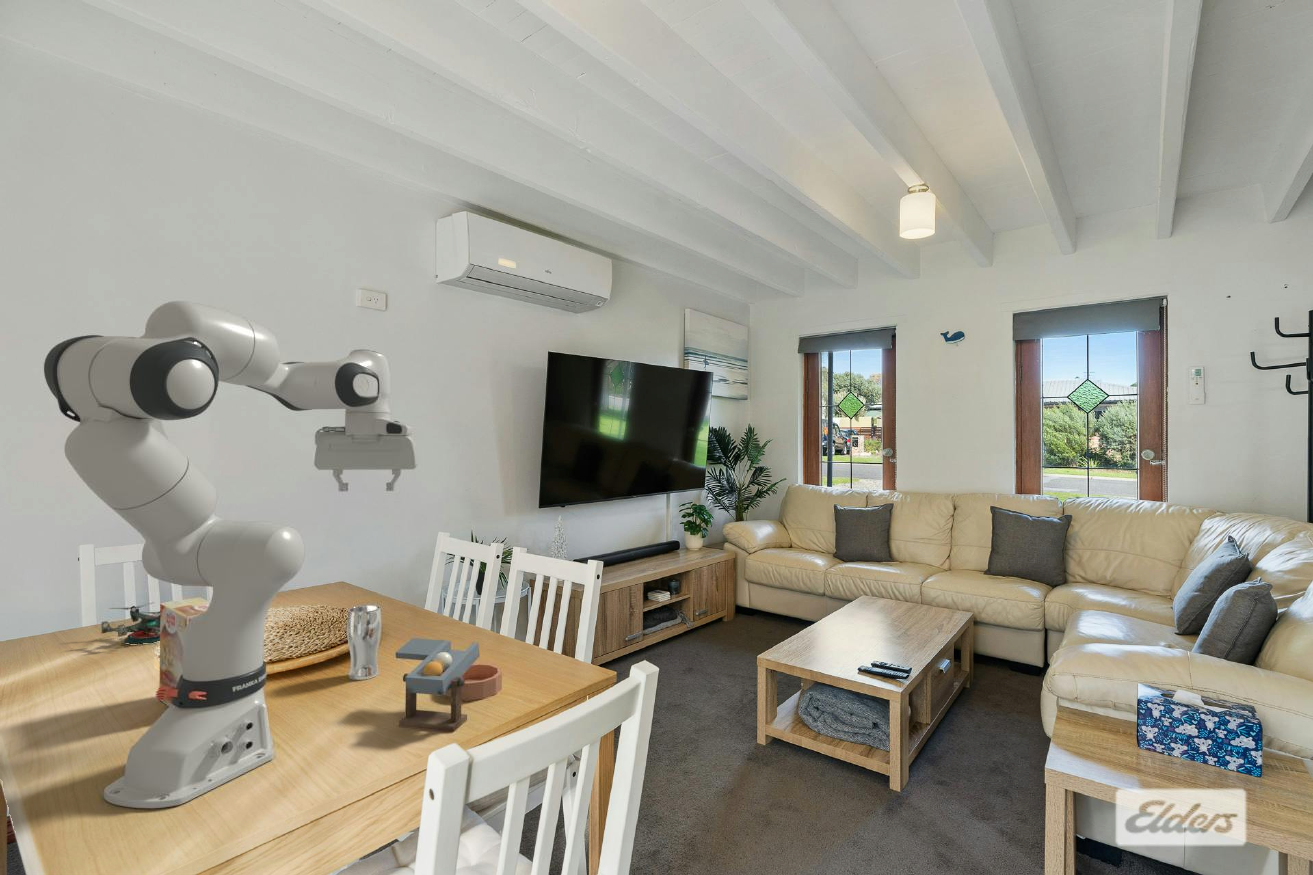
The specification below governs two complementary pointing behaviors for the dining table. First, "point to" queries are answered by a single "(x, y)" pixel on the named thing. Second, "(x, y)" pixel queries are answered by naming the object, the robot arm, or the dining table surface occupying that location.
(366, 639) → the beer glass
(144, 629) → the toy helicopter
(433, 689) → the tipping trough
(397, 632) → the dining table surface
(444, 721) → the trough stand
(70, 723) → the dining table surface
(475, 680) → the round terracotta tray
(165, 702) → the coffeecake box
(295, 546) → the robot arm
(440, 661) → the cream ball
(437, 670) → the orange ball
